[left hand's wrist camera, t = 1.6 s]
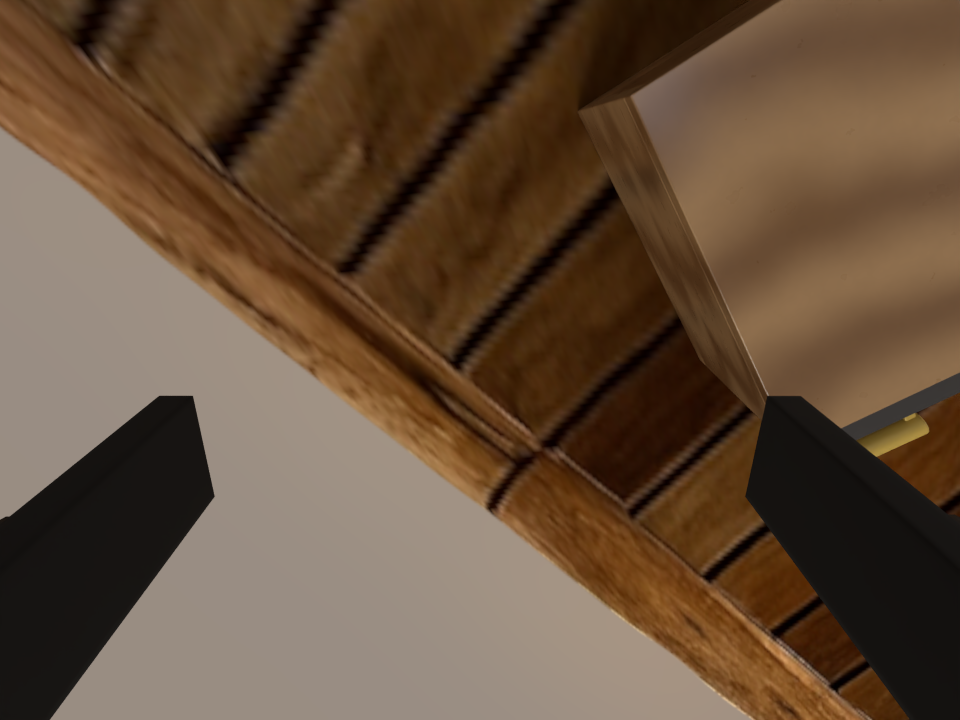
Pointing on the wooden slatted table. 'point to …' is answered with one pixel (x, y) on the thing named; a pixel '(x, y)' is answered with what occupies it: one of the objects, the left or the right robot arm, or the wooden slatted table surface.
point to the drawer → (900, 419)
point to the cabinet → (802, 195)
